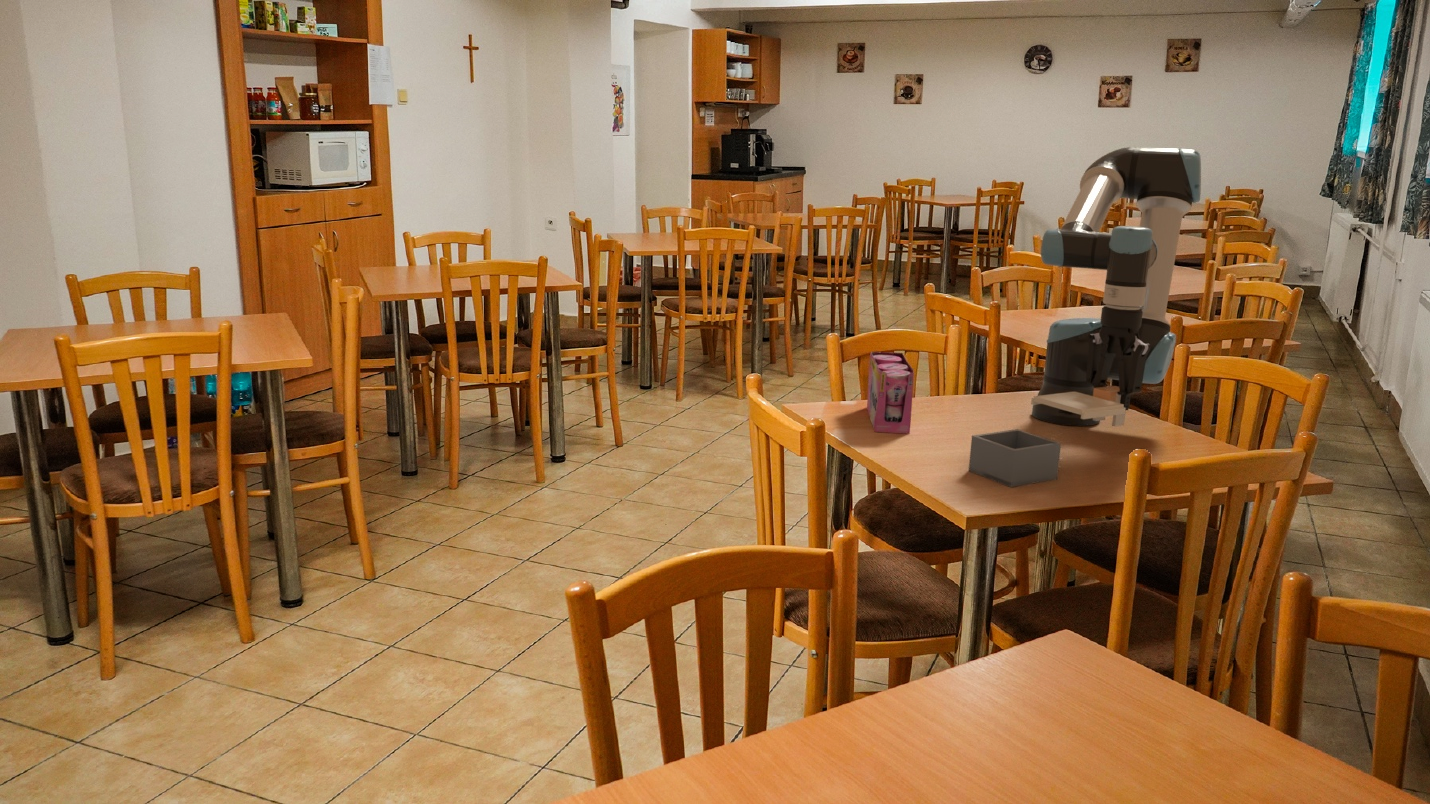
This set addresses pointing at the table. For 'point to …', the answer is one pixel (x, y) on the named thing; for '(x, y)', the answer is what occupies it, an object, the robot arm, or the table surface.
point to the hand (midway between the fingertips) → (1108, 422)
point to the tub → (1014, 457)
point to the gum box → (890, 392)
